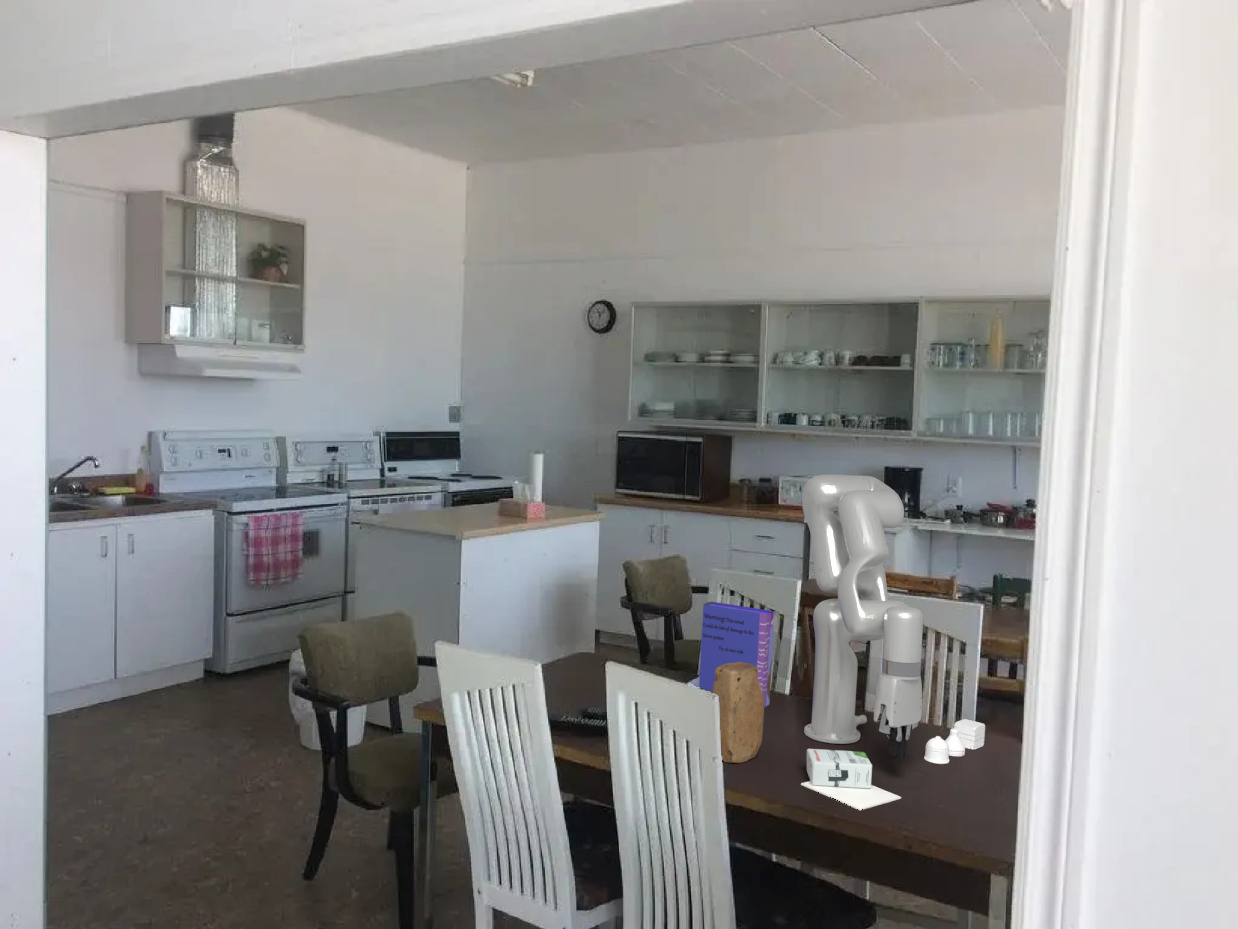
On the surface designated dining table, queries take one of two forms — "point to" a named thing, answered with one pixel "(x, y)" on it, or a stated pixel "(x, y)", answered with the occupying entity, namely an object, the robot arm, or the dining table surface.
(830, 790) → the mat
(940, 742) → the container set
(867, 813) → the dining table surface
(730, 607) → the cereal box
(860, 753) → the ink box
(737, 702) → the block
